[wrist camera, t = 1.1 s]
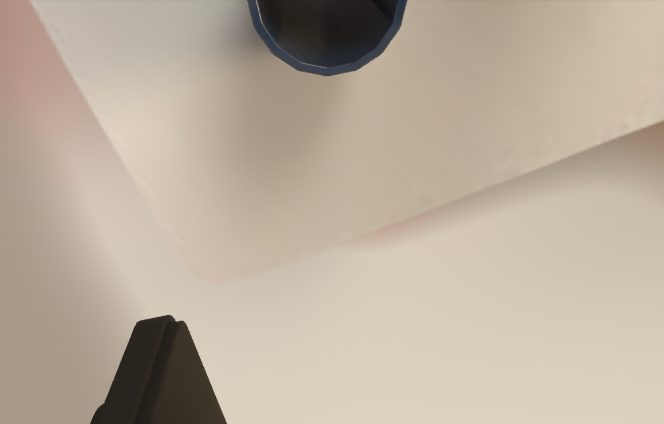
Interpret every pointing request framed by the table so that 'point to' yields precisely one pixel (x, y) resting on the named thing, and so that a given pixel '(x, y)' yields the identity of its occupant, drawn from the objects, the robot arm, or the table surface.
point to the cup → (327, 31)
